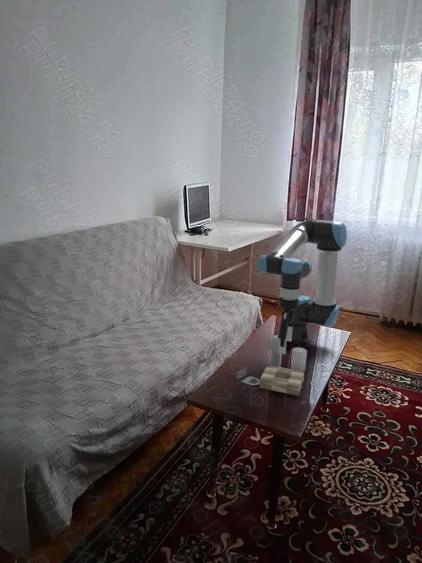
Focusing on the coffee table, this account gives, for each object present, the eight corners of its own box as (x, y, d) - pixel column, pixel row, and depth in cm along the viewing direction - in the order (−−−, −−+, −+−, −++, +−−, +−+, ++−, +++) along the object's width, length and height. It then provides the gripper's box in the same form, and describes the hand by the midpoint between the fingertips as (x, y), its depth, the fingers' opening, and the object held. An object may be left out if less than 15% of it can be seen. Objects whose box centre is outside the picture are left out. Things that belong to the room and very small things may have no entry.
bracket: (255, 388, 171) (255, 380, 170) (236, 380, 178) (236, 372, 177) (264, 382, 176) (264, 375, 175) (245, 375, 182) (245, 367, 181)
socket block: (267, 373, 184) (267, 364, 183) (303, 380, 179) (304, 371, 178) (259, 387, 171) (260, 378, 170) (298, 395, 166) (299, 386, 165)
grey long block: (272, 362, 194) (274, 334, 190) (280, 364, 193) (283, 336, 189) (270, 366, 190) (272, 338, 187) (279, 368, 189) (281, 339, 185)
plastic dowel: (291, 364, 193) (293, 346, 191) (306, 367, 191) (307, 348, 189) (289, 370, 187) (291, 351, 185) (304, 373, 185) (305, 354, 183)
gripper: (285, 288, 178) (281, 334, 183) (273, 305, 155) (269, 357, 161) (303, 290, 175) (298, 337, 181) (293, 307, 153) (288, 360, 158)
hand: (285, 347), depth 171 cm, fingers open, 13 cm apart
